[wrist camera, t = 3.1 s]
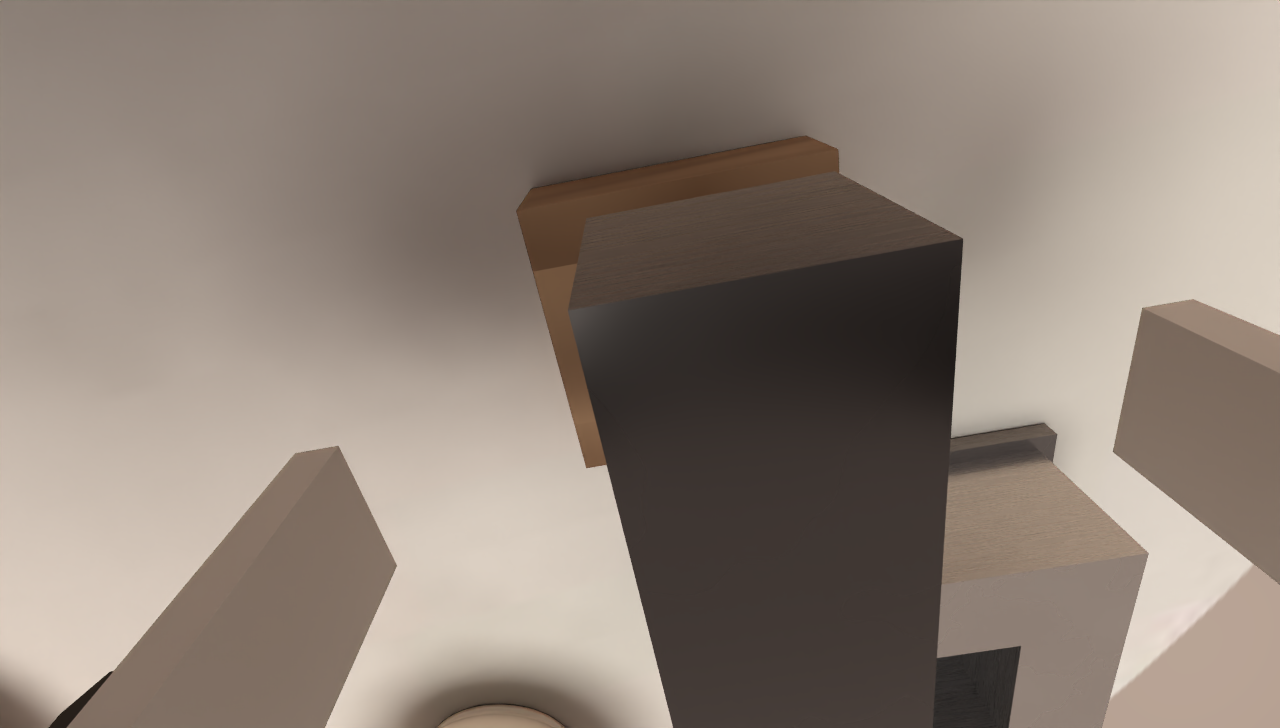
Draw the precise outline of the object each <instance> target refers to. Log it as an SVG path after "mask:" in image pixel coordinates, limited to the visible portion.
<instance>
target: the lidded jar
mask: <svg viewBox="0 0 1280 728" xmlns="http://www.w3.org/2000/svg"><path fill="white" fill-rule="evenodd" d="M437 728H565V727H564V726H563V725H562V724H561V723H560V722H558V721H557V720H555V719H554V718H552V717H550V716H548V715H547V714H545V713H542V712H539V711H537V710H534V709H530V708H527V707H522V706H516V705H505V704H494V705H483V706H476V707H473V708H469V709H465V710H463V711H460V712H458V713H455V714H454V715H452V716H450V717H448V718H447V719H446V720H444V721H443V722H442V723H441V724H440V725H439V726H438V727H437Z"/></svg>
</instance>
